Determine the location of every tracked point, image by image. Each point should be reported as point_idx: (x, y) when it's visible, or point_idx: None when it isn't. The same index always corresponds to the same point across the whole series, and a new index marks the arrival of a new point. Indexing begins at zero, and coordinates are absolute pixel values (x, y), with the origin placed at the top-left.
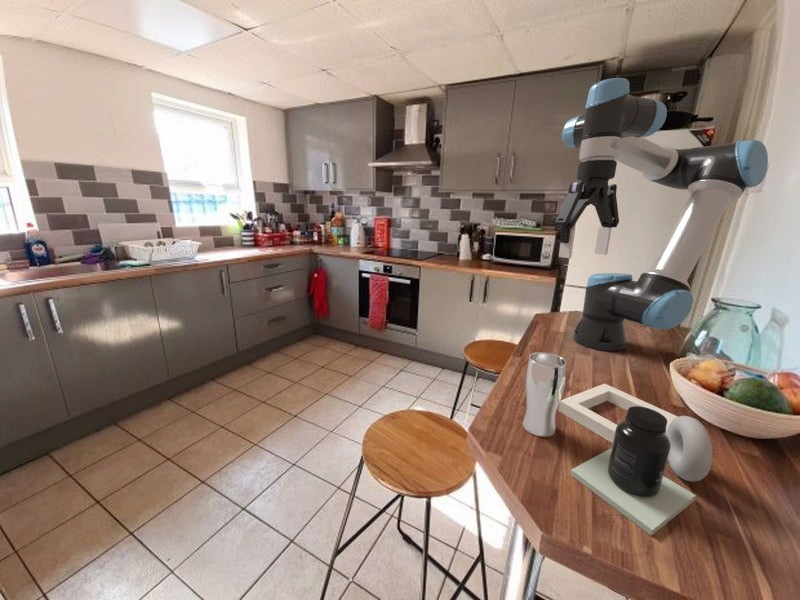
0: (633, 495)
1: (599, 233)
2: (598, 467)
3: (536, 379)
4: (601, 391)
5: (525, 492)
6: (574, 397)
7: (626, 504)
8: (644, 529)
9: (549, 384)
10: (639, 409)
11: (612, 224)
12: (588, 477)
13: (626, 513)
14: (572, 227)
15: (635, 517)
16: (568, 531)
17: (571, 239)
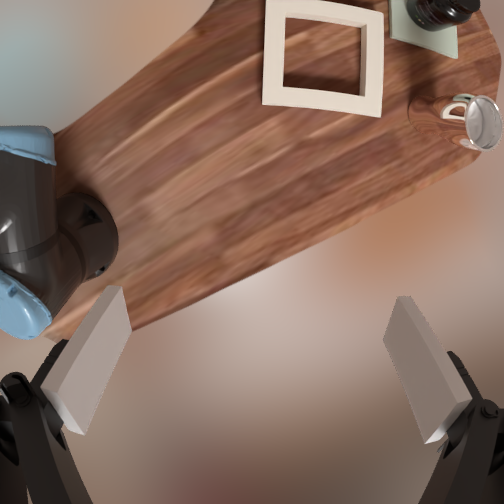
0: None
1: (93, 401)
2: (435, 39)
3: (489, 122)
4: (296, 92)
5: (493, 81)
6: (353, 108)
7: None
8: None
9: (482, 104)
10: (464, 1)
11: (26, 402)
12: (453, 43)
13: None
14: (476, 407)
15: None
16: (491, 44)
17: (447, 357)
